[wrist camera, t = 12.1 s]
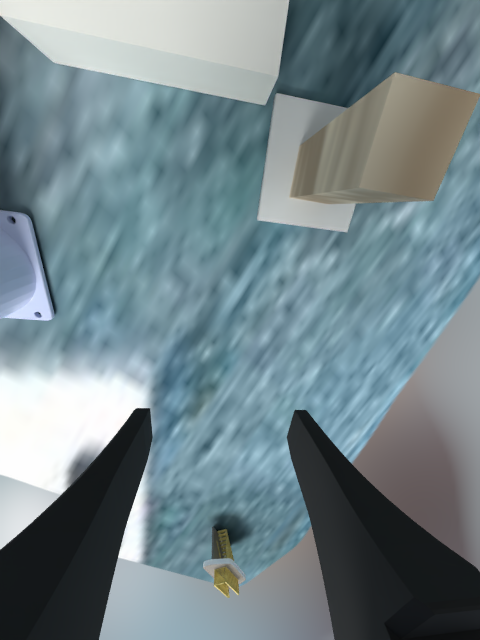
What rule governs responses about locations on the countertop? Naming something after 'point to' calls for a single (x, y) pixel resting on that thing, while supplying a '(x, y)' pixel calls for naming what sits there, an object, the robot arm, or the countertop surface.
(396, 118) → the wooden square post
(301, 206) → the mat
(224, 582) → the gold pronged connector
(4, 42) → the countertop surface
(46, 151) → the countertop surface
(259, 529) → the countertop surface
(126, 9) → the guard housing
